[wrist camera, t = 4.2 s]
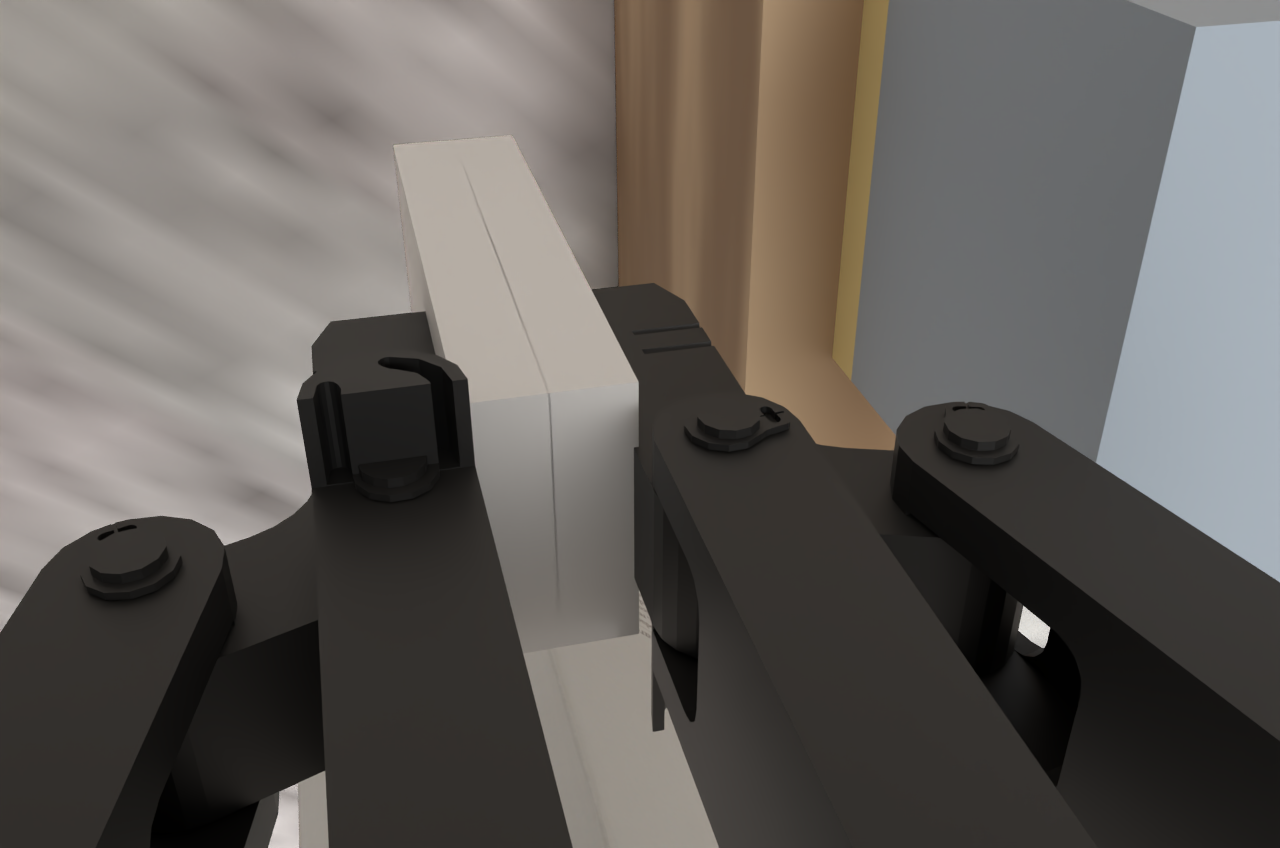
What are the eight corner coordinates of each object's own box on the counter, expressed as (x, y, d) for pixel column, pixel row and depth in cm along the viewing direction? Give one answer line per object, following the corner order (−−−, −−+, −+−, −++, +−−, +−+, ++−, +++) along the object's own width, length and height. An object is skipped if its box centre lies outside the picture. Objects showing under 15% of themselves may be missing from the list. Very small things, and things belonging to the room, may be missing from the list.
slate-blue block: (832, 357, 20) (1056, 632, 14) (871, -98, 16) (1195, 26, 11) (1200, 309, 22) (1538, 539, 16) (1312, -118, 18) (1806, -20, 12)
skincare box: (471, 724, 35) (588, 1344, 22) (271, 631, 31) (272, 1300, 18) (668, 522, 33) (925, 1071, 20) (478, 398, 29) (640, 965, 16)
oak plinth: (619, 319, 29) (737, 540, 22) (608, -383, 22) (782, -411, 14) (1202, 249, 32) (1478, 420, 25) (1364, -380, 25) (1823, -402, 18)
